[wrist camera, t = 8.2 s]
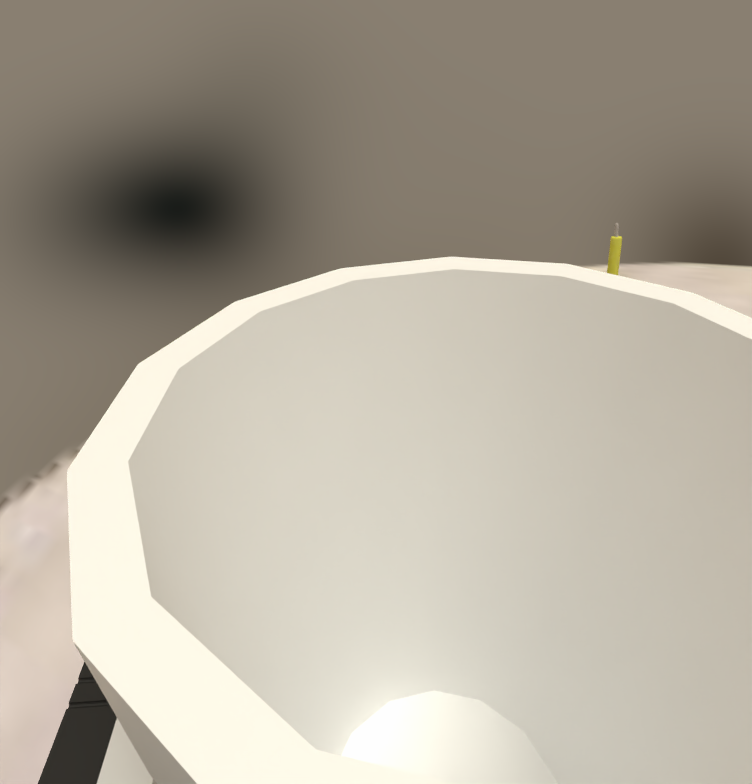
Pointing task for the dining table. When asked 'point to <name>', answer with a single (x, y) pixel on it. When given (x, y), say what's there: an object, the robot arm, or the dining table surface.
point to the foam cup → (429, 534)
